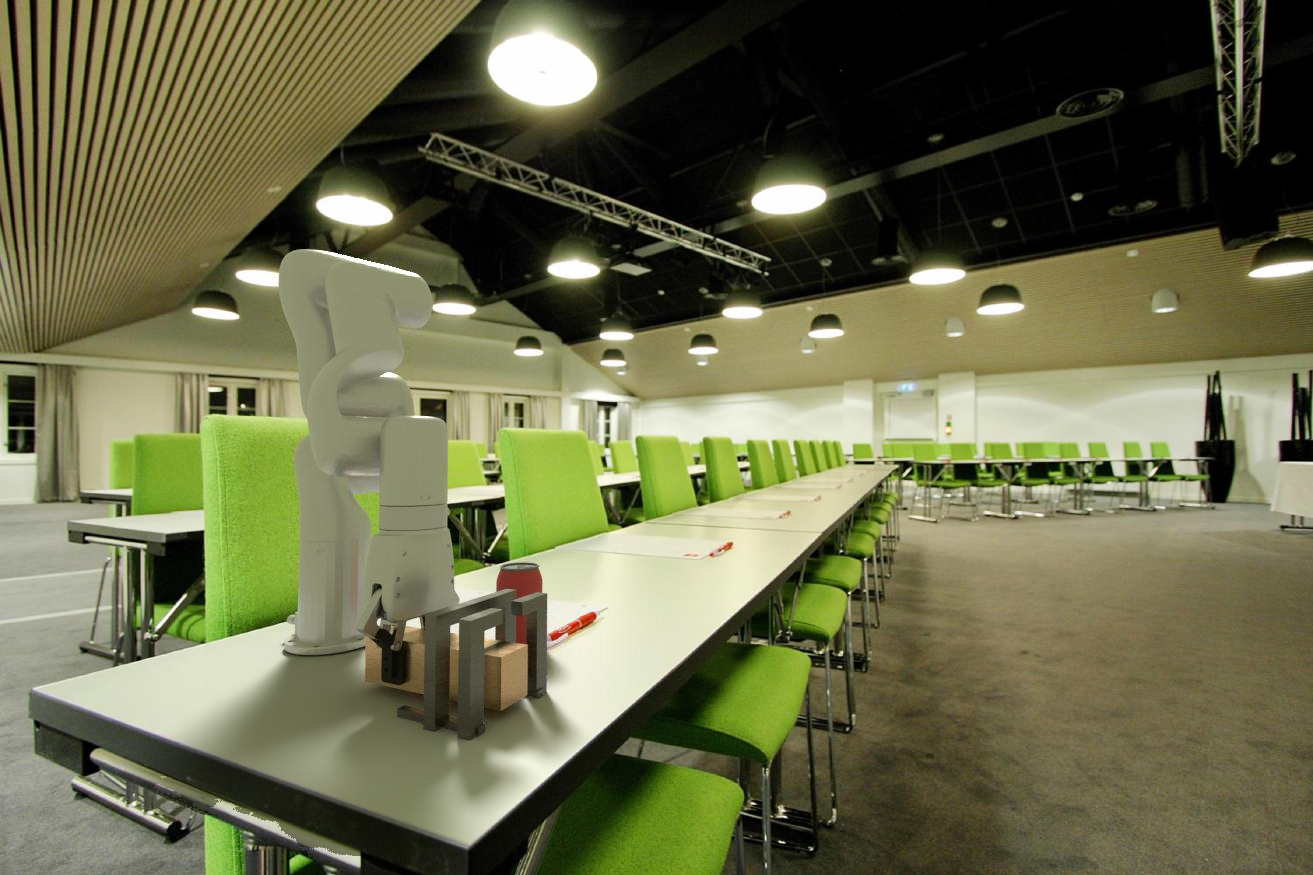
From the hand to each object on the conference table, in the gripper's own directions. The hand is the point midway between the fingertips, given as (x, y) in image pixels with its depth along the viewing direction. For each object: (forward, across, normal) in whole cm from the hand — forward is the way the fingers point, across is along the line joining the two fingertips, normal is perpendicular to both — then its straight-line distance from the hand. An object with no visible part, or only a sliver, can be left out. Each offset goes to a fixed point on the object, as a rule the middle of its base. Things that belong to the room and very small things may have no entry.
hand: (411, 673), depth 68 cm
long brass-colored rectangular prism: (+1, 0, +5) cm, 5 cm away
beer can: (+2, -18, +2) cm, 18 cm away
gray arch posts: (+2, 0, +9) cm, 10 cm away
